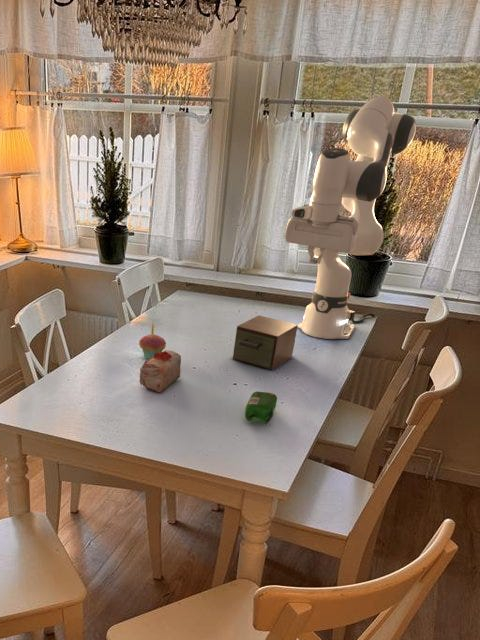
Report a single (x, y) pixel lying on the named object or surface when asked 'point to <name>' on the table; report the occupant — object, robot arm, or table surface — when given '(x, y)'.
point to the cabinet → (273, 329)
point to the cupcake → (152, 344)
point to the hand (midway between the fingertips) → (314, 262)
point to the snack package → (260, 407)
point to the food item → (160, 370)
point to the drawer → (253, 348)
